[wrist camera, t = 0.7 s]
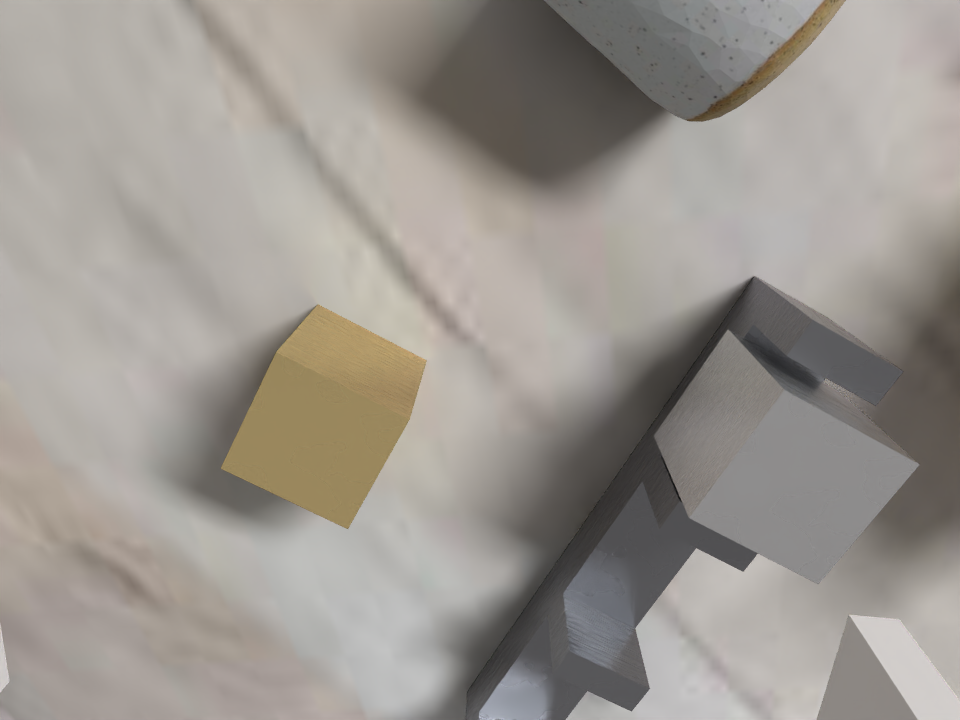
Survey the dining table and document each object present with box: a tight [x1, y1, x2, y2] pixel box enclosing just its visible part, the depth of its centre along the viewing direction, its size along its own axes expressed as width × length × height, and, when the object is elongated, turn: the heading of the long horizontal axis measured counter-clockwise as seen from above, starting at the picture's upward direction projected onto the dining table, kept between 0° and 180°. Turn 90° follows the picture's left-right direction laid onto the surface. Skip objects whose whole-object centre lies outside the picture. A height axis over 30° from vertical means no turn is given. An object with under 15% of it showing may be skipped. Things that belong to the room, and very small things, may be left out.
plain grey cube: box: [654, 329, 920, 584], centre depth 26 cm, size 5×5×6 cm
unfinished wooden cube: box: [221, 305, 427, 529], centre depth 29 cm, size 5×5×6 cm
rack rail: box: [466, 276, 903, 720], centre depth 31 cm, size 4×24×6 cm, turn 151°
